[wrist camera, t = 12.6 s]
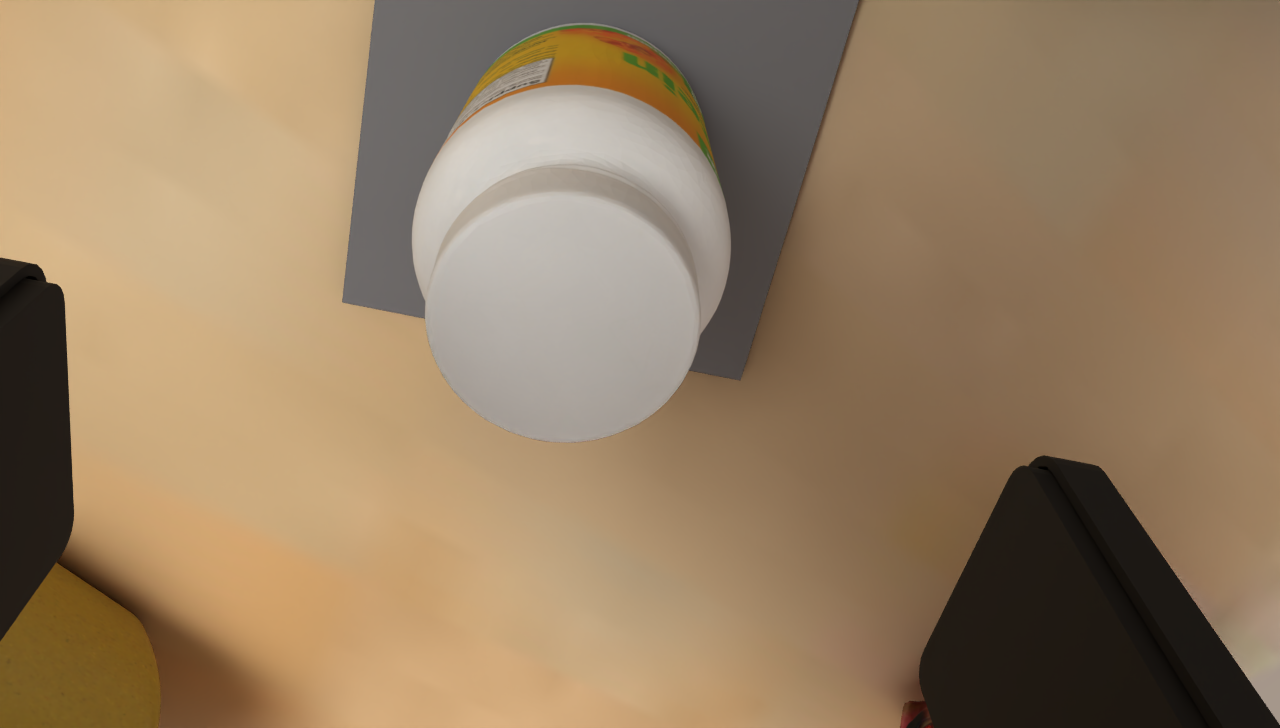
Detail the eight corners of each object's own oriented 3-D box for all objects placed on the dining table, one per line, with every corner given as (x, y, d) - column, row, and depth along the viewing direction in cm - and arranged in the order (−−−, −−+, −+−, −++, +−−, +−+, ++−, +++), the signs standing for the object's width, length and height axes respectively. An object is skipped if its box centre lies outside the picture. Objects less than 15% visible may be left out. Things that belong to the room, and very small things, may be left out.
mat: (394, -147, 21) (390, -147, 21) (863, -31, 22) (867, -28, 22) (345, 295, 26) (342, 302, 25) (738, 372, 27) (740, 380, 26)
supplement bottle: (750, 171, 24) (822, 367, 15) (561, 295, 25) (529, 540, 17) (613, -35, 22) (607, 58, 13) (415, 113, 23) (292, 285, 15)
